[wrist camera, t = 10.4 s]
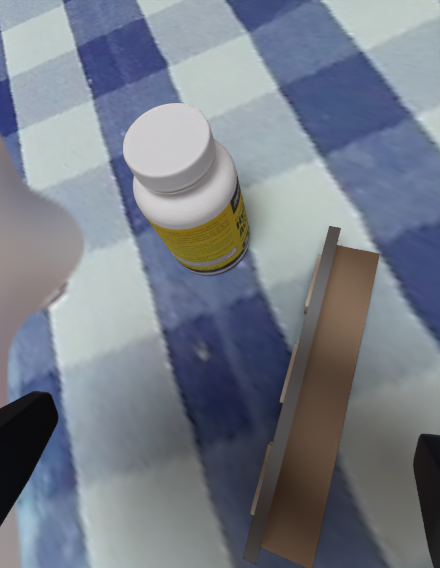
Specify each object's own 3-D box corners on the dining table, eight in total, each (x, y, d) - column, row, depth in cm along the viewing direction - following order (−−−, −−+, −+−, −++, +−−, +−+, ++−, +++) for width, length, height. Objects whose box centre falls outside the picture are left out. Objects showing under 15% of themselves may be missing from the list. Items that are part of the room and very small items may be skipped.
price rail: (310, 557, 17) (314, 592, 14) (248, 529, 18) (238, 556, 15) (374, 263, 22) (388, 236, 18) (321, 252, 22) (325, 225, 19)
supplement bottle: (262, 261, 23) (242, 164, 14) (184, 288, 24) (116, 210, 14) (237, 195, 25) (206, 73, 16) (166, 221, 26) (96, 116, 16)
